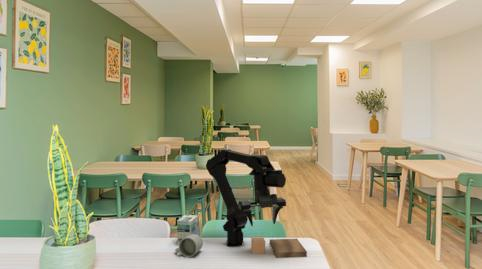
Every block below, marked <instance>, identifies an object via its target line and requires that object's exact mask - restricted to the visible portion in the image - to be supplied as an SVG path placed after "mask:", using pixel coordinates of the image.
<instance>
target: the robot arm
mask: <svg viewBox="0 0 482 269" xmlns="http://www.w3.org/2000/svg"><path fill="white" fill-rule="evenodd" d="M230 161H232V162H236V163H240V164H243V165H246V166H247V167H248V168H250V169H252V170H251V171H250V172H249V173H248V175H249V176H253V193H254V200H253V201H249V200H248V199H245V200H239V201H238V202H237V200H236V197H235V195H234V193H233V190H232V187H231V185H230V182H229V179H228V178H227V176H226V175H227V166H226V165H228V164H229V162H230ZM205 168H206V170H207V171H208V174H209V175H210V176H211V177H212V178H213V179H214V180H215V181H216V184H217V187H218V190H219V192H220V195H221V197H222V199H223V201H224V205H225V207H226V217H225V218H226V222H225V223H224V224H223V225H222V228H223V231H224V232H226V245H227V247H239V246H238V245H242V246H243V245H244V233H243V229H245V228H246V225H247V224H248V221H249V223H250V226H251V227H253V226H254V221H253V215H252V212H253V210H252V209H251V208H254V207H255V208H256V207H259V208H261V209H265V208H272V210H271V211H272V213H271V214H272V224H273V225H275V224H276V223H277V222H276V220H277V218H278V215H279V213H280V210H281V209H284V207H287V201H286V199H285V198H283V197H280V196H279V197H278V194H277V193H272V194H271V193H270V189H269V188H281V189H282V188H284V187H285V185H286V182H287V179H286V176H285V174H284V173H283V170H282V169H277V170H276V169H275V167H274V166H273V164H272V162H271V161H270V159H269V157H268V155H266V154H249V153H244V152H239V151H235V150H232V149H221V151H219V152H218V153H217V154H215V155H214V156H212V157H211V158H208V159H207V161H206V164H205Z"/></svg>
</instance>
